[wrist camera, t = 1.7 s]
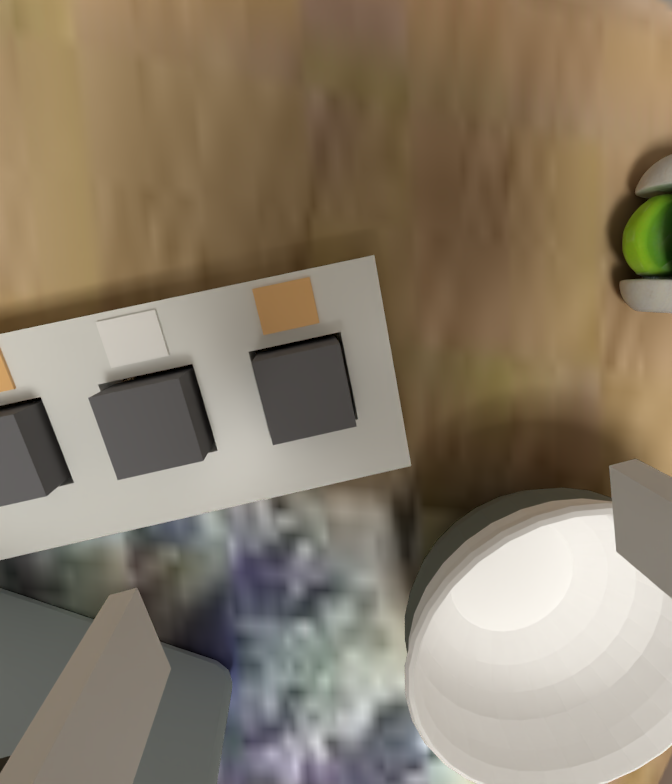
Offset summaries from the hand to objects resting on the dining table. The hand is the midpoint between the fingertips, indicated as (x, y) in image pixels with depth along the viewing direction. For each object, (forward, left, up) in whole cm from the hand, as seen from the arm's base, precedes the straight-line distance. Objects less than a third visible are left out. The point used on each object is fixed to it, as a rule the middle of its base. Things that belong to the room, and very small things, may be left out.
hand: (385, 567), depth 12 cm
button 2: (-17, +2, -14) cm, 23 cm away
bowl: (+10, -15, -16) cm, 24 cm away
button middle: (-9, +2, -14) cm, 17 cm away
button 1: (-1, +2, -14) cm, 15 cm away
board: (-9, +2, -16) cm, 19 cm away
